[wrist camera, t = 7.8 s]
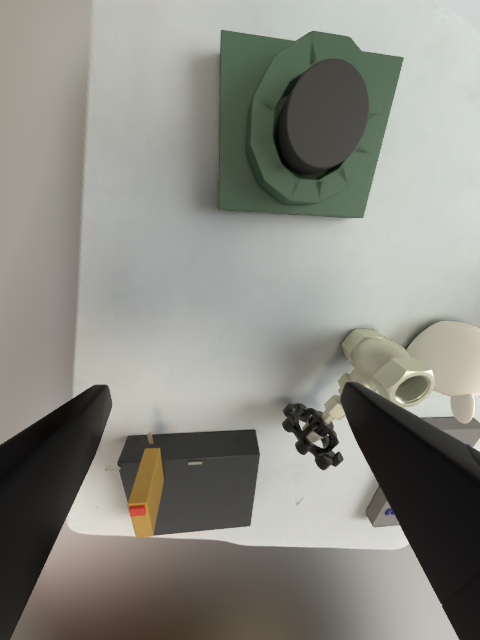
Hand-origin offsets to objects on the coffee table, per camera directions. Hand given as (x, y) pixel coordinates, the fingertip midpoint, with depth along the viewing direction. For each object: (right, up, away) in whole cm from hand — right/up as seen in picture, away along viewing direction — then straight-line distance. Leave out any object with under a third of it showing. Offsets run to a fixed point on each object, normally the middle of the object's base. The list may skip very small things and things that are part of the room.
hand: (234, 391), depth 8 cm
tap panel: (-6, -14, +18) cm, 24 cm away
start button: (+4, +13, +3) cm, 14 cm away
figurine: (+20, 0, +15) cm, 25 cm away
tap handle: (-8, -12, +13) cm, 19 cm away
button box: (+4, +14, +6) cm, 16 cm away
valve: (+10, -3, +15) cm, 18 cm away
